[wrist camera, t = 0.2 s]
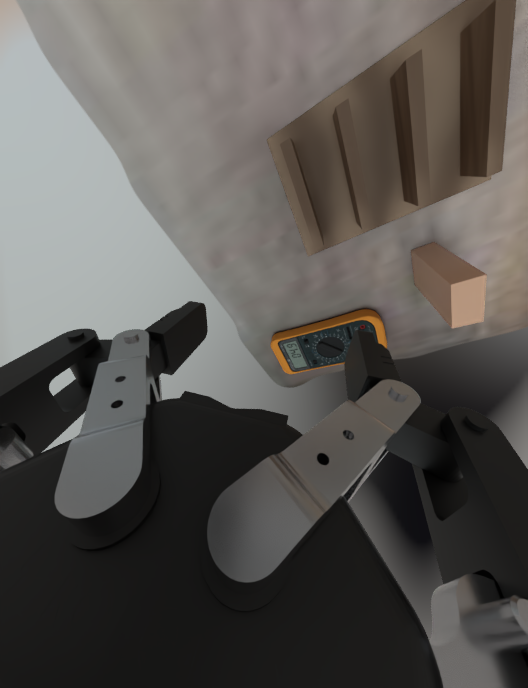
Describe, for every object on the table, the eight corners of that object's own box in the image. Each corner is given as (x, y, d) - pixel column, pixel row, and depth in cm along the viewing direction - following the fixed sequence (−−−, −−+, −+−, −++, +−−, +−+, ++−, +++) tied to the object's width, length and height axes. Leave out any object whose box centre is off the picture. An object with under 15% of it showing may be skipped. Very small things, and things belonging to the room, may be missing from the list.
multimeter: (385, 344, 38) (390, 357, 35) (287, 364, 45) (285, 377, 42) (376, 301, 34) (381, 313, 31) (270, 331, 41) (267, 343, 38)
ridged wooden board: (308, 253, 31) (307, 267, 26) (268, 141, 24) (257, 134, 20) (482, 178, 23) (523, 181, 19) (491, -13, 17) (557, -82, 12)
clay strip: (414, 284, 31) (451, 328, 22) (410, 250, 28) (450, 284, 20) (436, 278, 30) (483, 321, 21) (434, 241, 27) (486, 274, 19)
